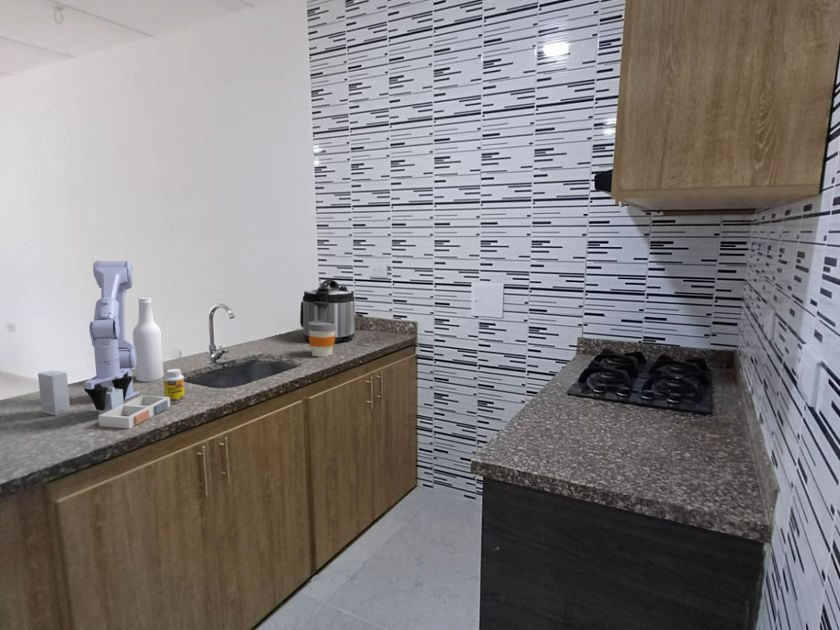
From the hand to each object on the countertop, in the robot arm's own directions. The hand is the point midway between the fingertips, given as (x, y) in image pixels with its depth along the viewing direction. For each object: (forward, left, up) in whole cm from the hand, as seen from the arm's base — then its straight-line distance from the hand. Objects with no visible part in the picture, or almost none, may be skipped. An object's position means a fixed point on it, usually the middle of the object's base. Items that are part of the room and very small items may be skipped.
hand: (111, 405), depth 132 cm
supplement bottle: (+11, +13, -3) cm, 17 cm away
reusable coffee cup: (+37, +80, -3) cm, 88 cm away
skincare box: (-16, -2, -3) cm, 16 cm away
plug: (0, 0, -3) cm, 3 cm away
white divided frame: (+8, 0, -3) cm, 8 cm away
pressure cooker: (+29, +113, -3) cm, 117 cm away
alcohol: (-12, +32, -3) cm, 34 cm away
